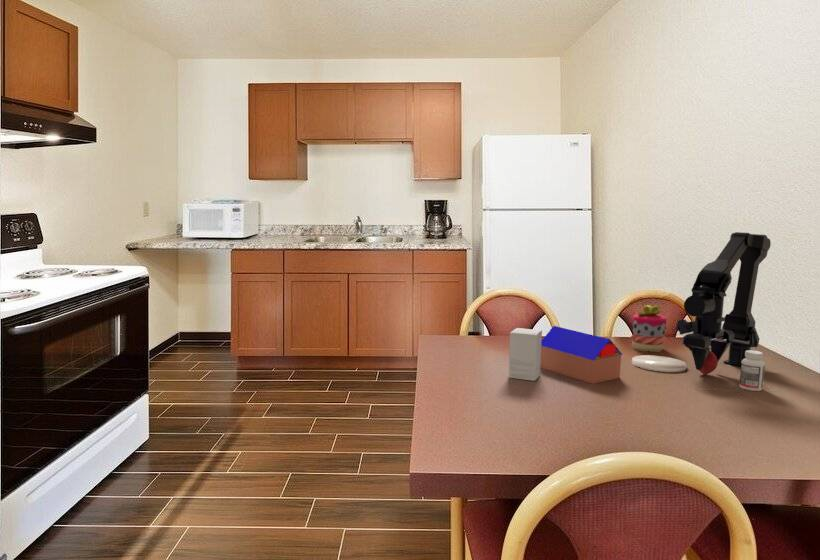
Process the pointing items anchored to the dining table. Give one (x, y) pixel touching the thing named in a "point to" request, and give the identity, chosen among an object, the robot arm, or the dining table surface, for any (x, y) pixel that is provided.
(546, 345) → the house
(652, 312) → the cake
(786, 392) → the dining table surface
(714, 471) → the dining table surface
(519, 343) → the supplement box
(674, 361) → the plate
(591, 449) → the dining table surface
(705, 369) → the onion
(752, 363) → the pill bottle
